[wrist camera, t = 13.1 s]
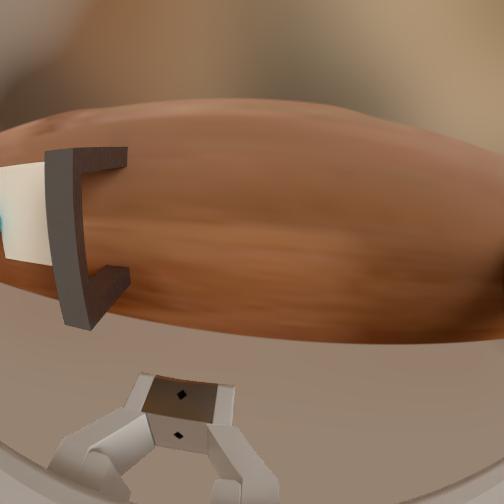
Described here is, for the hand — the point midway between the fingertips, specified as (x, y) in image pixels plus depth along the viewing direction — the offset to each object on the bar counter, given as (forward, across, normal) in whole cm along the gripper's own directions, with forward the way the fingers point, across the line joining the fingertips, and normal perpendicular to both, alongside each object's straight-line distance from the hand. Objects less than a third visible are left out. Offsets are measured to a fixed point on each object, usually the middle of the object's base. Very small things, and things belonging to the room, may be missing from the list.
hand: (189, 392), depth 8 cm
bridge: (+21, +13, 0) cm, 25 cm away
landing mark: (+21, +27, 0) cm, 34 cm away
